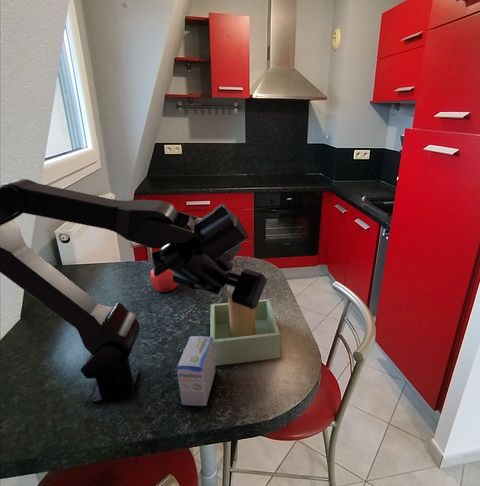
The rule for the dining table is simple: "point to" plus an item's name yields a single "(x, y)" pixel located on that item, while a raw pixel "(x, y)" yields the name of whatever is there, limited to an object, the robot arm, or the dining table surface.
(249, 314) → the straw cup
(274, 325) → the bin
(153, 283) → the apple
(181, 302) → the dining table surface
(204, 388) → the medicine box
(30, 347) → the dining table surface
